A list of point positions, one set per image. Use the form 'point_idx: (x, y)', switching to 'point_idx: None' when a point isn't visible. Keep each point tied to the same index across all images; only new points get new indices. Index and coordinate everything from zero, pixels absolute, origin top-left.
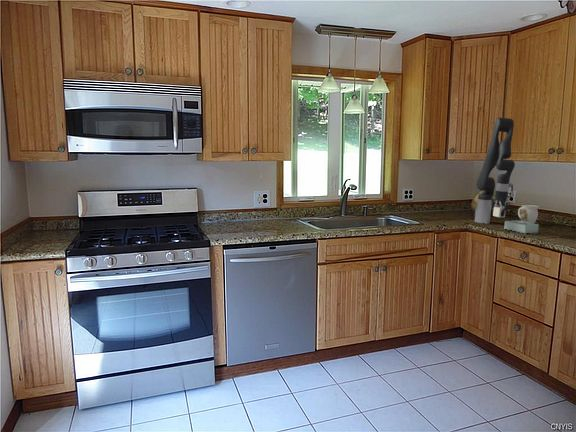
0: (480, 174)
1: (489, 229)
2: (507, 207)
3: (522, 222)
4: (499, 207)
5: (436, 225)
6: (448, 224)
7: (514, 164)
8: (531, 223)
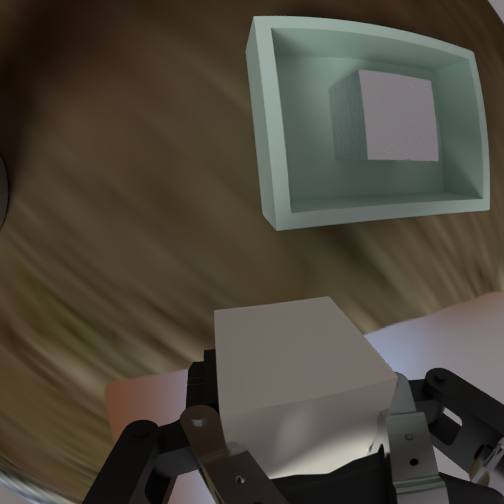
0: None
1: None
2: (466, 406)
3: (411, 113)
4: (307, 456)
5: None
6: (77, 452)
7: None
8: (428, 47)
